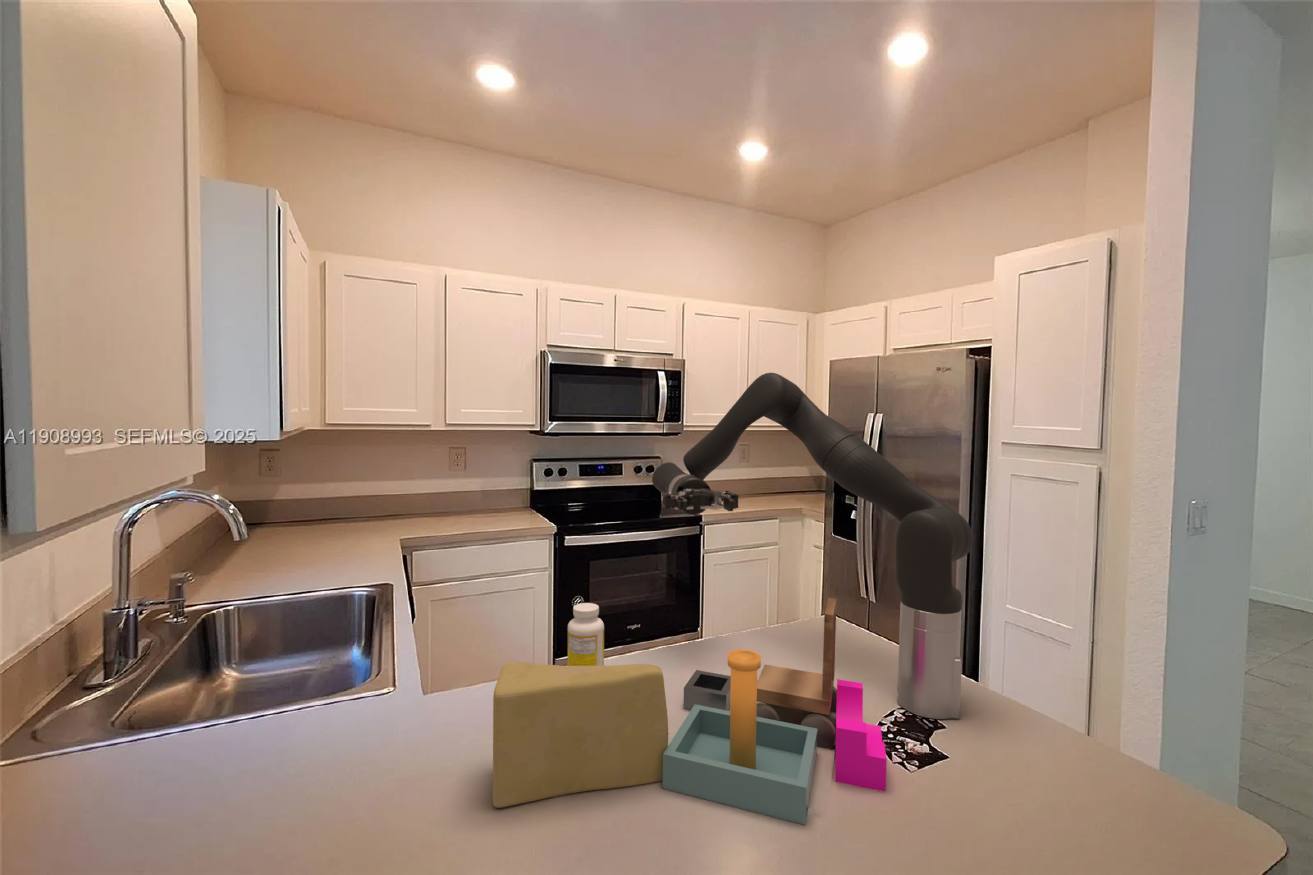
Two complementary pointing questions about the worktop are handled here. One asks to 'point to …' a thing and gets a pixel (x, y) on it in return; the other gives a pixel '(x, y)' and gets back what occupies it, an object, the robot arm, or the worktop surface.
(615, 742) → the cheese
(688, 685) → the pin socket
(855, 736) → the toy block
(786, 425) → the robot arm
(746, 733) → the pin
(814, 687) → the trolley
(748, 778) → the tray
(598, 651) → the supplement bottle
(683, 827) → the worktop surface
